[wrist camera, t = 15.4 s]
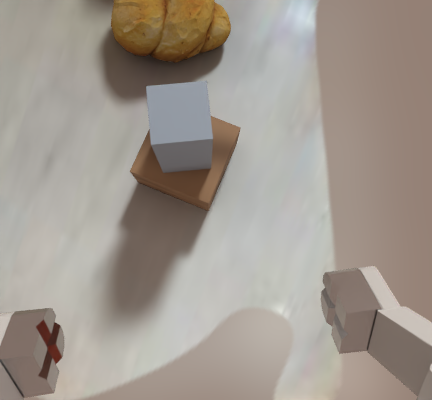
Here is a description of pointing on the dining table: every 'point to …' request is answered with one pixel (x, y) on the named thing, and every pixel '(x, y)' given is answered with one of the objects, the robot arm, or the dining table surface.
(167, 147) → the slate block
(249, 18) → the dining table surface
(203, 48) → the bread roll
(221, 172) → the walnut block
